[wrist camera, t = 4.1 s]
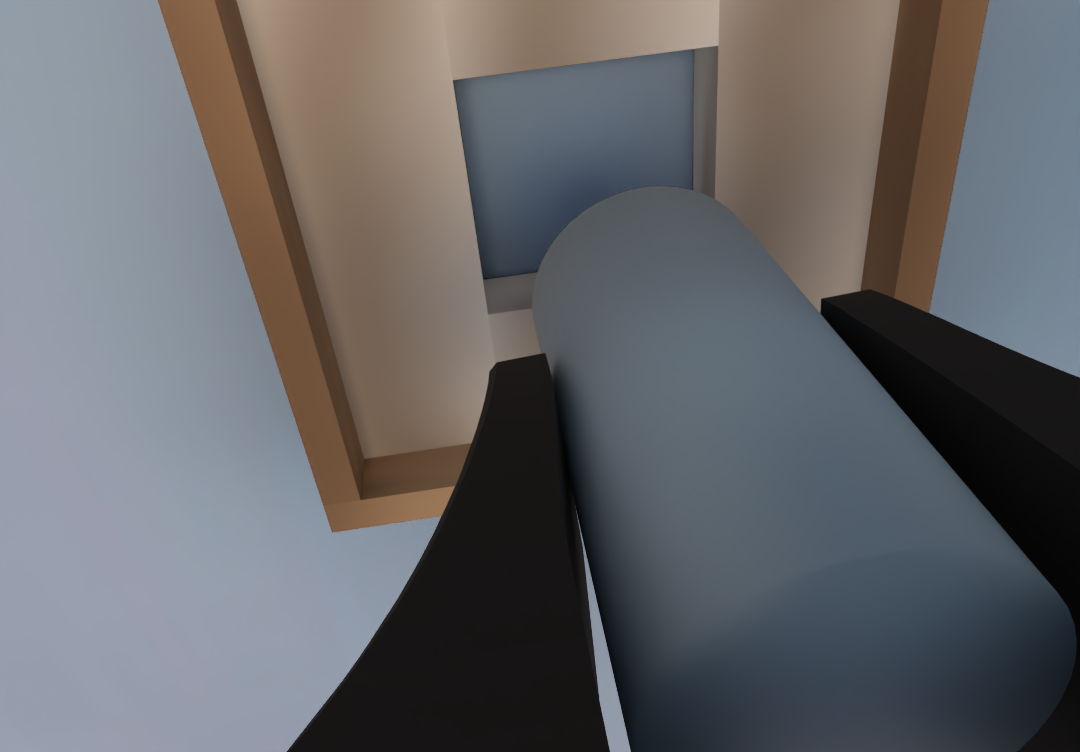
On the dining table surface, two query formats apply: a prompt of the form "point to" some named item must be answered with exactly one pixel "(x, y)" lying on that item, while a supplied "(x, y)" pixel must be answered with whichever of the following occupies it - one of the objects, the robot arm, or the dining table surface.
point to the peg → (773, 510)
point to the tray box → (445, 201)
